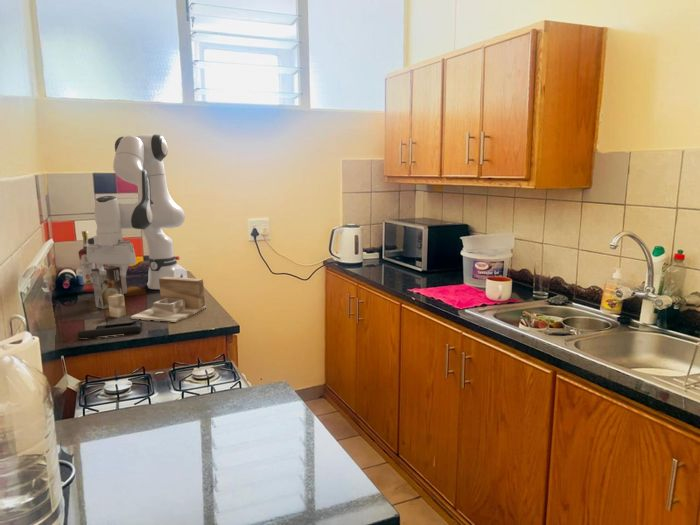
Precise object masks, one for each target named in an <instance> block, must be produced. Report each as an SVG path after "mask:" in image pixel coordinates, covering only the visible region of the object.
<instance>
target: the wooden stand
mask: <svg viewBox="0 0 700 525" xmlns="http://www.w3.org/2000/svg"><path fill="white" fill-rule="evenodd" d="M159 284H160V289H159V292H160V293H159V294H160V300H157V301H155V302H153V303H152V307H150V308H148V309H146V310H142V311H140V312H138V313H135V314H133V315H130V319H132V320H139V319H141V320H142V321H150V320H154V321H153V322H160V321H171V322H176V321H179V320H181V319H183V318H185V319H187V318H189V317H192V316H194V315H196V314H198V313H200V312H202V311H204V310H206V309H207V306H206V303H205V291H204V290H205V289H204V278H190V277H187V278H178V277H163V278H160V279H159ZM205 308H206V309H205ZM203 309H204V310H203ZM201 310H202V311H201ZM199 311H200V312H199ZM197 312H198V313H197ZM195 313H196V314H195ZM193 314H194V315H193ZM191 315H192V316H191ZM188 316H189V317H188ZM186 317H187V318H186ZM141 320H140V321H141ZM183 320H184V319H183ZM181 321H182V320H181ZM179 322H180V321H179Z"/></svg>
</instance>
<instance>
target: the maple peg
mask: <svg viewBox="0 0 700 525" xmlns="http://www.w3.org/2000/svg"><path fill="white" fill-rule="evenodd" d="M108 302H109V308H108V311H109V317H111V318H121V317H123V316H126V314H127V313H126V304H125V303H126V302H125V295H124V294H123V295H120V294H114V295H111V296H108Z"/></svg>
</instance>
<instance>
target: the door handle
mask: <svg viewBox="0 0 700 525" xmlns="http://www.w3.org/2000/svg"><path fill="white" fill-rule="evenodd" d="M142 327H143V322H142V321H141V320H134V321H132V322H123V323H115V324H107V322H101V323H100V325H97V326H96V327H95V329H88V330H81V331H78V332H77V338H78V340H80V339H79V338H92V339H96V338H95V337H105V338H109V337H108V336H114V337H117V336H116V335H123V336H125V335H124V334H127V335H132V334H131V333H136V334H140V333H141V332H142V330H143V328H142ZM139 332H140V333H139Z"/></svg>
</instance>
